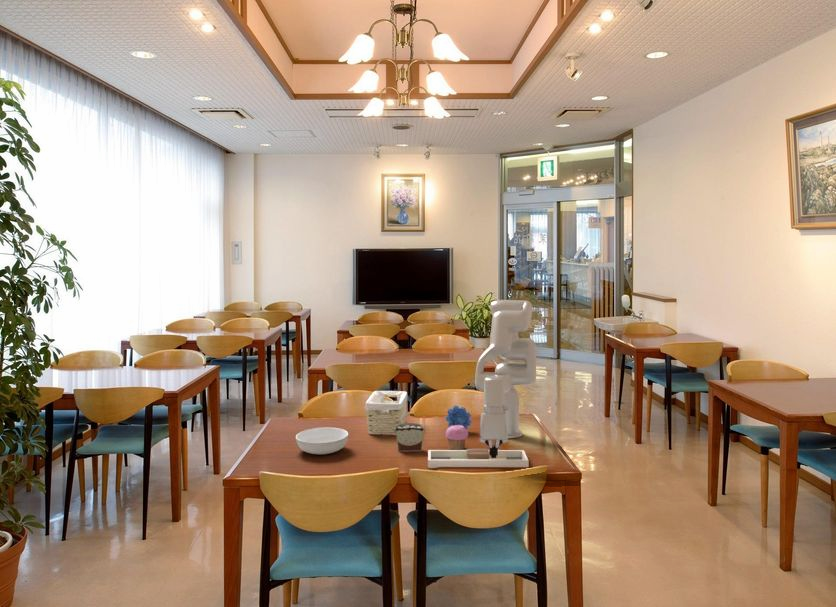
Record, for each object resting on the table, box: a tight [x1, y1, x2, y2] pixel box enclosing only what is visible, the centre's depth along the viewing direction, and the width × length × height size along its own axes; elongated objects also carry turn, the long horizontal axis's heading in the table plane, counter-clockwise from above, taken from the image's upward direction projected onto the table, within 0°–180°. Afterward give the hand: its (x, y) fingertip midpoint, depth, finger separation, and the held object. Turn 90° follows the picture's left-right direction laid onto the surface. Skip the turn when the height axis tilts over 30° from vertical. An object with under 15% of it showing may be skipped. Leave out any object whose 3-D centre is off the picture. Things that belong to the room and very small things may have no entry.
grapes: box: [445, 405, 472, 431], centre depth 282 cm, size 12×7×12 cm, turn 102°
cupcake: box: [445, 425, 469, 450], centre depth 258 cm, size 9×9×10 cm
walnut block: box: [466, 448, 489, 459], centre depth 242 cm, size 6×8×4 cm
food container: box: [394, 422, 426, 452], centre depth 260 cm, size 12×6×10 cm, turn 92°
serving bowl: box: [295, 426, 349, 456], centre depth 258 cm, size 21×21×7 cm
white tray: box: [427, 449, 530, 469], centre depth 243 cm, size 12×37×3 cm, turn 89°
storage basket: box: [365, 390, 408, 436], centre depth 290 cm, size 24×16×15 cm
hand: (493, 457), depth 242 cm, fingers closed
